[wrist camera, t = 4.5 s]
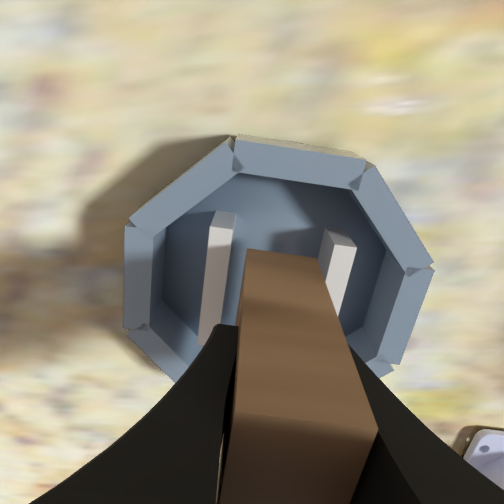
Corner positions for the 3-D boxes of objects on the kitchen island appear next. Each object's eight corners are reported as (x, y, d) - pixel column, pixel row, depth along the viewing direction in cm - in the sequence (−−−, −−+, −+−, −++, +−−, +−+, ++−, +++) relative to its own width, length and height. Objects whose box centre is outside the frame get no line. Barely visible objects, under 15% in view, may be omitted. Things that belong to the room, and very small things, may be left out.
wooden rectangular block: (294, 352, 14) (324, 568, 8) (232, 344, 14) (210, 555, 8) (316, 258, 13) (378, 429, 6) (246, 248, 12) (234, 411, 6)
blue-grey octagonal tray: (361, 385, 18) (376, 427, 16) (139, 357, 18) (121, 395, 16) (435, 163, 14) (469, 176, 12) (148, 118, 14) (126, 122, 11)
